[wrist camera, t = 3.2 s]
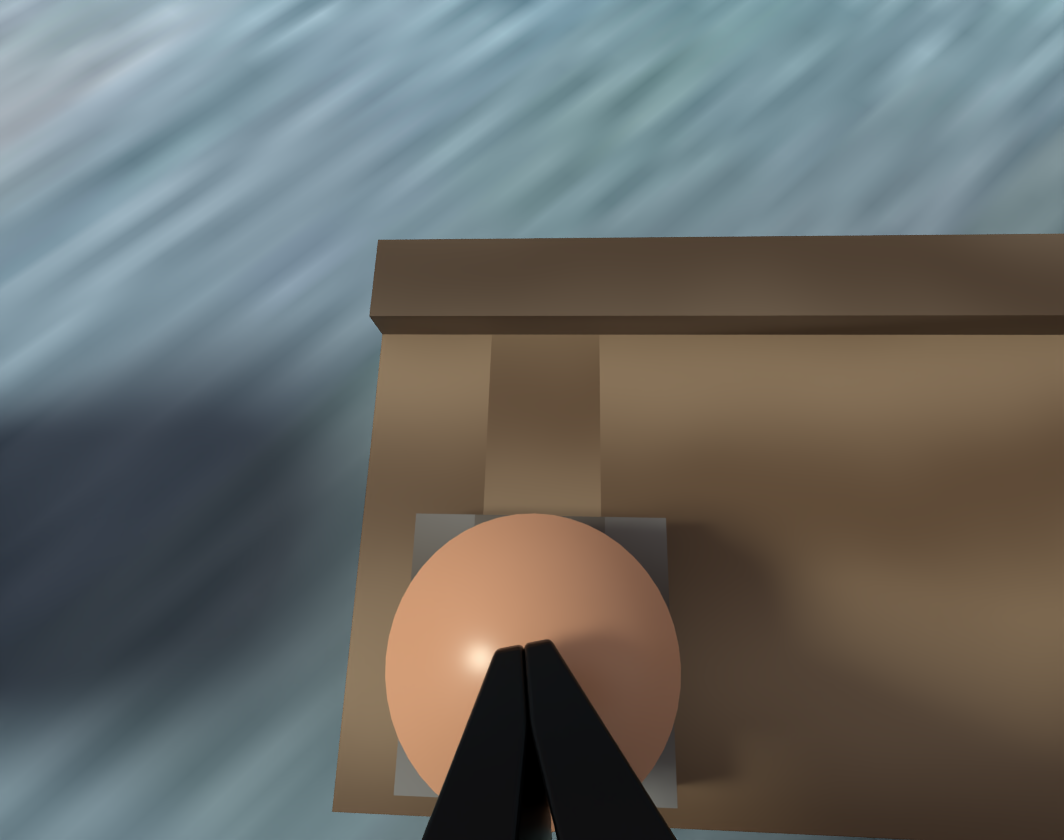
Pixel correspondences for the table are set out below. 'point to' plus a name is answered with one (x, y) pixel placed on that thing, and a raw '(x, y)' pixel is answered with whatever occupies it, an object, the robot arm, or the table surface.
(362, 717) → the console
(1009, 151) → the table surface
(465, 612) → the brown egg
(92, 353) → the table surface
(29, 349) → the table surface
